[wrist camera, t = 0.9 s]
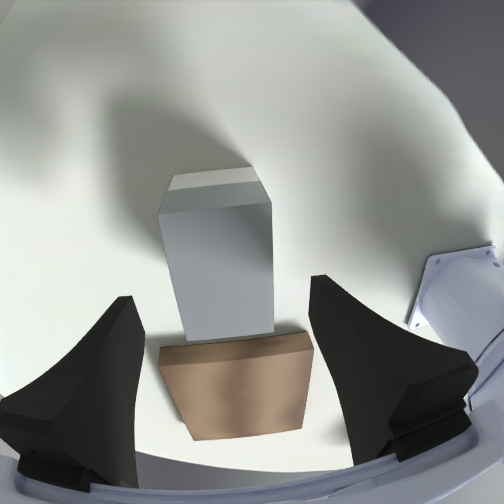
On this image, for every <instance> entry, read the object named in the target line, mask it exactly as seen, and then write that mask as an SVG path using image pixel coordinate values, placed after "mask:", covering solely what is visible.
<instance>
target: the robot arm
mask: <svg viewBox="0 0 504 504" xmlns="http://www.w3.org/2000/svg"><path fill="white" fill-rule="evenodd" d="M495 253H496V247H495V246H487V247H481V248H475V249H469V250H463V251H457V252H451V253H445V254H438V255H432V256H430V257H429V258H428V260H427V263H426V267H425V271H424V274H423V278H422V281H421V285H420V288H419V291H418V295H417V298H416V301H415V304H414V307H413V310H412V313H411V316H410V319H409V322H408V325H407V326H408V328H409V329H410V330H412V329H416V328H419V327H423V326H427V325H431V327H432V328H433V329H434V331H435V332H436V334H437V335H438V336H439V338H440V339H441V341H442V342H443V343H444V345H445V346H444V345H441V344H438V343H435V342H433V341H430V340H427V339H425V338H422V337H420V336H417V335H415V334H413V333H411V332H409V331H406V330H404V329H402V328H400V327H399V326H397V325H395V324H393V323H391V322H390V321H388V320H386V319H384V318H383V317H381V316H380V315H378V314H377V313H375V312H374V311H372V310H371V309H369V308H368V307H366V306H365V305H364V304H362V303H361V302H360V301H358V300H357V299H356V298H354V297H353V296H352V295H350V294H349V293H348V292H347V291H345V290H344V289H343V288H342V287H341V286H339V285H338V284H337V283H336V282H334V281H333V280H332V279H331V278H329V277H328V276H327V275H326V274H325V275H318V276H311V286H310V299H309V312H308V316H309V319H310V323H311V327H312V330H313V333H314V336H315V339H316V341H317V343H318V346H319V348H320V350H321V353H322V355H323V357H324V360H325V362H326V364H327V367H328V369H329V371H330V374H331V376H332V378H333V381H334V384H335V387H336V390H337V394H338V397H339V401H340V404H341V408H342V412H343V416H344V420H345V424H346V428H347V433H348V437H349V442H350V447H351V452H352V458H353V464H354V466H353V467H350V468H346V469H343V470H339V471H335V472H331V473H328V474H324V475H319V476H315V477H310V478H306V479H300V480H295V481H290V482H284V483H278V484H272V485H264V486H257V487H247V488H237V489H226V490H206V491H205V490H204V491H168V490H166V491H165V490H147V489H139V486H138V478H137V471H136V459H135V439H134V419H135V402H136V395H137V389H138V383H139V378H140V372H141V367H142V361H143V356H144V345H145V331H144V328H143V325H142V323H141V320H140V317H139V314H138V312H137V309H136V306H135V303H134V300H133V297H132V296H121V297H118V298H117V299H116V300H115V301H114V302H113V303H112V304H111V306H110V307H109V308H108V309H107V310H106V312H105V313H104V314H103V315H102V316H101V317H100V319H99V320H98V321H97V322H96V323H95V325H94V326H93V327H92V328H91V329H90V330H89V331H88V333H87V334H86V335H85V336H84V337H83V338H82V339H81V340H80V341H79V342H78V343H77V345H76V346H75V347H74V348H73V349H72V350H71V351H70V352H69V353H67V354H66V355H65V356H64V357H63V358H62V359H61V360H60V361H59V362H58V363H56V364H55V365H54V366H53V367H51V368H50V369H49V370H48V371H46V372H45V373H44V374H43V375H41V376H40V377H38V378H37V379H36V380H34V381H33V382H31V383H30V384H28V385H26V386H25V387H23V388H22V389H20V390H18V391H16V392H14V393H13V394H11V395H9V396H7V397H5V398H3V399H1V401H0V438H1V439H2V440H3V441H4V442H6V443H7V444H8V445H9V446H10V447H12V448H13V449H14V450H15V451H16V452H18V453H19V454H20V459H19V460H17V459H15V458H13V457H11V456H8V455H5V454H2V453H0V504H432V503H434V502H436V501H438V500H440V499H442V498H444V497H445V496H447V495H449V494H451V493H453V492H454V491H456V490H458V489H459V488H461V487H462V486H464V485H466V484H468V483H469V482H471V481H472V480H474V479H475V478H477V477H478V476H480V475H481V474H483V473H484V472H485V471H487V470H489V469H490V468H491V467H493V466H494V465H495V464H497V463H498V462H499V461H502V463H503V464H504V264H503V263H501V262H500V261H499V260H498V259H497V258H496V257H494V256H495ZM466 394H467V395H466ZM465 395H466V397H465ZM464 397H465V399H463V398H464ZM326 495H329V496H328V498H326V499H321V500H315V501H309V502H307V501H305V500H310V499H314V498H319V497H323V496H326Z"/></svg>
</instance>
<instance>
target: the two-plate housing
mask: <svg viewBox="0 0 504 504" xmlns="http://www.w3.org/2000/svg"><path fill="white" fill-rule="evenodd" d="M157 216H158V221H159V226H160V231H161V236H162V241H163V245H164V250H165V255H166V259H167V264H168V268H169V272H170V277H171V281H172V285H173V289H174V293H175V297H176V301H177V305H178V309H179V313H180V317H181V320H182V324H183V328H184V332H185V335H186V339H187V341H197V340H208V339H219V338H229V337H238V336H247V335H255V334H263V333H271V332H274V284H273V236H272V202H271V200H270V198H269V196H268V194H267V192H266V190H265V188H264V187H263V185H262V183H261V181H260V179H259V177H258V175H257V173H256V171H255V169H254V167H242V168H231V169H220V170H211V171H202V172H193V173H185V174H177V175H174V177H173V179H172V182H171V184H170V186H169V188H168V191H167V193H166V195H165V198H164V200H163V202H162V205H161V207H160V209H159V212H158V214H157Z"/></svg>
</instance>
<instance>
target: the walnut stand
mask: <svg viewBox="0 0 504 504" xmlns="http://www.w3.org/2000/svg"><path fill="white" fill-rule="evenodd" d="M313 354H314V347H313V345H312V342H311V339H310V336H309V334H308V331H307V332H301V333H294V334H287V335H280V336H273V337H266V338H258V339H250V340H241V341H232V342H222V343H212V344H201V345H188V346H174V347H160V355H159V363H158V367H159V369H160V372H161V374H162V376H163V379H164V381H165V383H166V385H167V387H168V390H169V392H170V394H171V396H172V398H173V400H174V403H175V405H176V407H177V409H178V411H179V413H180V415H181V417H182V419H183V421H184V423H185V425H186V427H187V429H188V431H189V433H190V435H191V436H192V438H193V440H194V441H200V440H217V439H230V438H240V437H249V436H258V435H265V434H272V433H279V432H285V431H291V430H297V429H302V424H303V419H304V413H305V407H306V401H307V395H308V388H309V382H310V375H311V368H312V361H313Z"/></svg>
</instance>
